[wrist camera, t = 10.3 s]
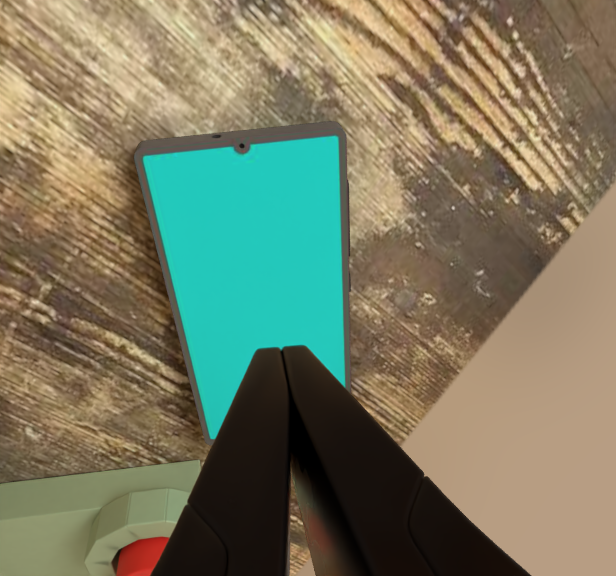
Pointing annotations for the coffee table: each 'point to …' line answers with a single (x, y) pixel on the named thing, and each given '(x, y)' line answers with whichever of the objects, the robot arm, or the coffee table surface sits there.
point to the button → (141, 556)
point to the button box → (88, 517)
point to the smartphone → (251, 249)
